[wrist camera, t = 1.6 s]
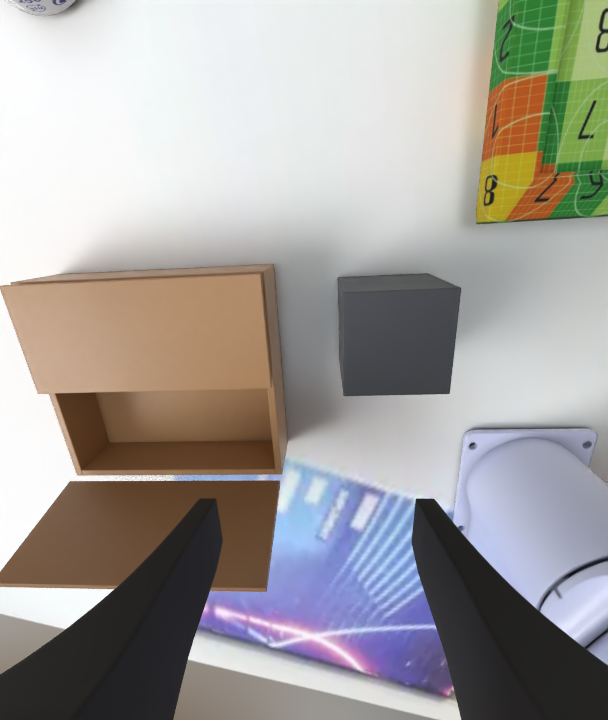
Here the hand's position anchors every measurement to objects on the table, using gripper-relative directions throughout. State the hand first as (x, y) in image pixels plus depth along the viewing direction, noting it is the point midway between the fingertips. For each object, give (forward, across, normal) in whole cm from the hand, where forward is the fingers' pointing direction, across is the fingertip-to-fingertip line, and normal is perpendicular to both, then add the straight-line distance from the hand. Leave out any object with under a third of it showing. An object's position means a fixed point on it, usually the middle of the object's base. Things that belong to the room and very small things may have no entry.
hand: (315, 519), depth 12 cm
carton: (+10, +9, -2) cm, 14 cm away
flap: (+4, +9, +4) cm, 10 cm away
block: (+10, -4, -5) cm, 12 cm away
